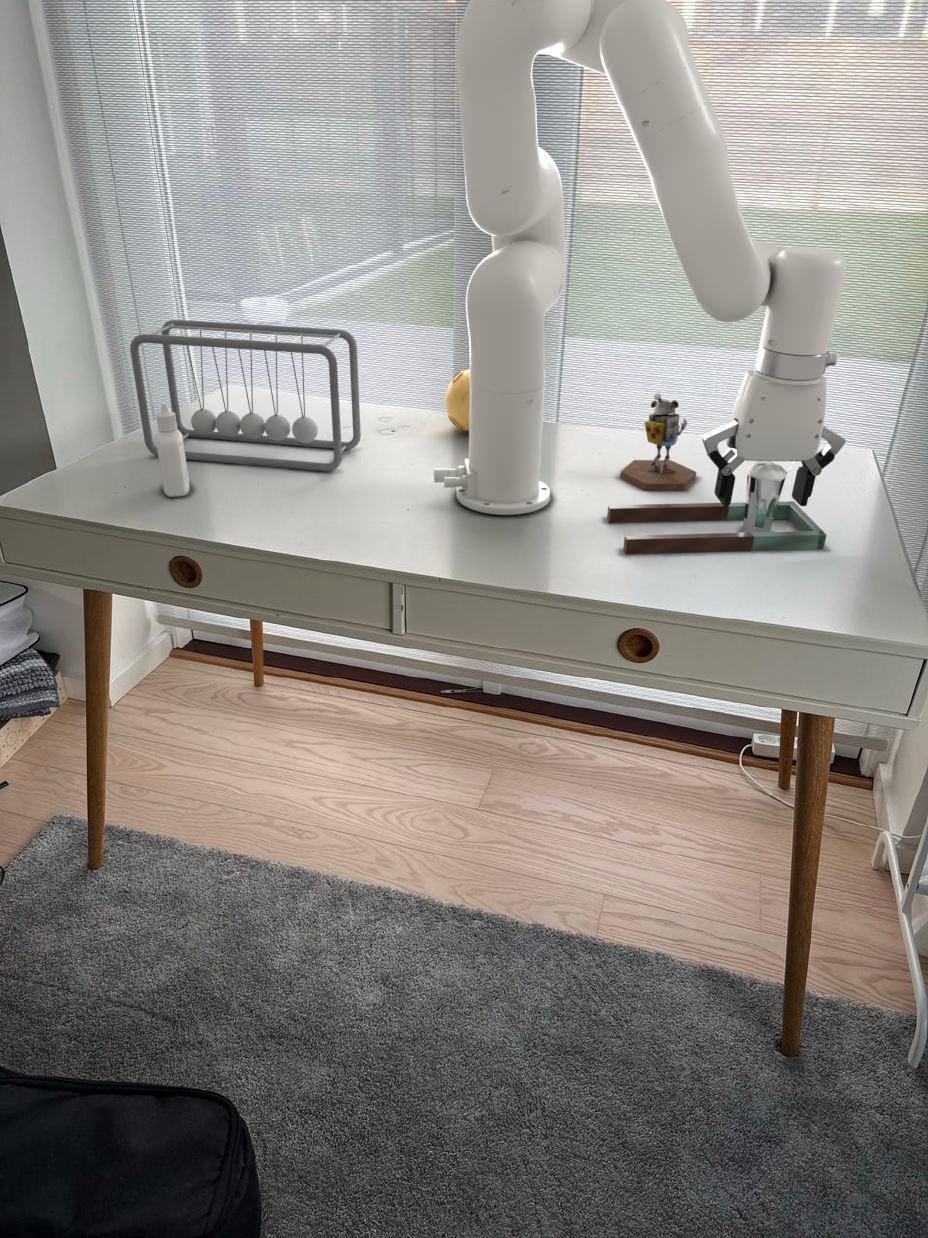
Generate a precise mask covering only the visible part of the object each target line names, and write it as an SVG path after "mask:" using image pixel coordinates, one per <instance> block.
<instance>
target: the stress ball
mask: <svg viewBox="0 0 928 1238" xmlns="http://www.w3.org/2000/svg"><path fill="white" fill-rule="evenodd" d="M445 408H446V411H447V414H448V415H447V418H448V420H449V421H450V422H451V423H452V425H454V426H455V427H456V428H457V429H458V430H460V431H462V430H465V431H467V432H469V414H470V368H468V369H465V370H464V369H462V370H460V371H458V372H457V373H456V374H454V376H453V377H452V378H451V381H450V383H449V385H448V386H447V390H446V393H445Z"/></svg>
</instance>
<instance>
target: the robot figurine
mask: <svg viewBox="0 0 928 1238" xmlns="http://www.w3.org/2000/svg"><path fill="white" fill-rule="evenodd" d="M653 399H654V400H653V401H652V402H651V404H650V408H653V413H652V414H649V415H648V420H647V421H645V422H644V427H645V433H646V439H647V442H648V443H651V444H653V445H656V451H657V454H656V455H655V457H654V458H653V459H633V460H632V461H631V462H630V463H629V464H628V465H626V466H625V467H624V468H623V469H622V470H621V471H620V477H619V478H620V479H622V480H623V481H625V482H627V483H629V484H632V485H633V486H636V487H637V488H640V489H642V490H643V491H677V492H678V491H680V492H681V491H685V490H686V489H687V488H688V487H689V486H690V485H691V484H692V483H693V482H694V481H695V479H696V477H697V471H696V470H693V469H691V468H688V467H687V466H684V465H683V464H680V463H678V462H675V461H674V460H670V458H671V457H670V450H671V448H672V446H675V445H676V443H677V441H678V437H679V436H681V434H682V433H683V431H684V430H685V429H686V428H687V426H688V421H687V419H685V418H683V422H680V415H679V414H678V413H676V409H678V408H679V405H680V404H679V402H678V401H677V400H672V401H670V400H668V399H662V394H661V392H655V393H653ZM679 423H680V424H679ZM680 425H681V426H680ZM663 447H664V448H665V451H666V455H665V456H664V459H661V458H662V455H661V450H662V448H663Z"/></svg>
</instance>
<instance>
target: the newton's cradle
mask: <svg viewBox="0 0 928 1238" xmlns="http://www.w3.org/2000/svg"><path fill="white" fill-rule="evenodd" d="M172 329H177V330H194V332H191V333H190V334H188V335H173V334H170V331H171V330H172ZM202 331H210V332H220V333H218V334H217V335H215V336H213V337H207V336H206V337H205V336H202ZM197 332H199V336H191V335H193V334H195V333H197ZM227 332H228V333H241V334H242V333H243V334H244V333H245V335H243V336H242V337H240V338H238V339H237V338H227ZM221 334H224V338H220V337H218V336H220V335H221ZM252 334H261V335H272V336H270V337H269V338H266V339H265V340H254V339H253V340H252ZM248 335H249V338H250V339H244V337H246V336H248ZM274 336H275V341H271V340H270V339H271V338H273V337H274ZM278 336H293V337H297V338H295V339H294V340H293V341H291V342H283V341H278ZM303 337H306V338H324V339H325V338H326V339H329V340H328V341H326V342H325V343H323V344H315V343H304V342H303ZM298 339H300V340H301V343H299V342H295V341H297V340H298ZM337 339H343V340H345V341H346V343H347V345H348V353H349V372H350V391H351V392H350V394H351V417H352V419H351V420H352V439H351V440H349V441H342V431H341V430H342V429H341V413H340V392H339V375H338V373H339V371H338V360H337V357H336V355H335V353H334V352H333V351H332V350H331V349H330V348H328V346H329V345H330V344H331V343H333V342H335V340H337ZM142 344H157V345H158V344H159V345H162V349H163V356H164V364H165V372H166V378H167V385H168V386H167V387H168V392H169V398H170V399H169V400H170V407H171V411H172V412H174V413H175V414H176V421H177V429H178V430H179V431H180V432H181V434H182V437H183V440H185V439H186V438H197V439H211V440H222V441H235V442H248V443H259V444H271V445H272V444H273V445H282V446H283V445H285V446H296V447H298V446H299V447H309V448H310V447H311V448H323V449H332V450H333V457H332V459H330V460H329V462H327V463H326V462H315V461H303V460H291V459H282V458H281V459H278V458H268V457H257V456H256V457H255V456H245V455H232V454H220V453H209V452H208V453H206V452H196V451H185V457H186V460H188V461H189V460H190V461H199V462H200V461H201V462H213V463H224V464H236V465H247V466H248V465H249V466H260V467H272V468H283V469H296V470H308V471H318V472H319V471H320V472H332V471H334V470H336V469H338V468H339V467H340V465H341V463H342V460H343V459H342V458H343V452H344V451H345V450H352V449H354V448H356V447H357V446H358V445H359V443H360V441H361V437H362V431H361V410H360V409H361V407H360V406H361V405H360V385H359V383H360V382H359V363H358V362H359V361H358V359H359V358H358V344H357V341H356V339H355V337H354V336H353V335H352V334H351V333H350V332H349V331H347V330H344V329H338V328H337V329H335V328H319V327H317V328H316V327H300V326H285V325H284V326H283V325H269V324H251V323H237V322H236V323H233V322H217V321H202V320H201V321H200V320H186V319H185V320H184V319H170V320H168V321H166V322H164V324H163V326H162V327H161V328H159V329H158V330H155V331H153V332H151V333H150V334H143V333H142V334H138V335H136V336H134V337H133V339H132V340H131V342H130V345H129V352H130V359H131V364H132V371H133V377H134V382H135V389H136V396H137V402H138V409H139V413H140V420H141V426H142V427H141V428H142V434H143V440H144V443H145V447H146V448H147V450H148V451H149V452H150V453H151V454H152V455H154V456H156V457H158V451H157V445H156V444H155V443H154V441H153V433H152V428H151V421H150V414H149V409H148V402H147V401H148V400H147V396H146V389H145V383H144V375H143V370H142V369H143V368H142V363H141V357H140V351H139V350H140V346H141V345H142ZM171 345H174V346H186V350H187V353H188V358H189V362H190V367H191V371H192V376H193V380H194V385H195V390H196V394H197V399H198V403H199V407H200V409H198V410H196V411H194V413H193V414H192V416H191V419H190V424H191V427H192V429H189V428H187V427H185V426H184V424H183V422H182V418H181V412H180V402H179V396H178V389H177V381H176V375H175V368H174V359H173V352H172V346H171ZM189 347H200V364H201V365H200V368H201V369H200V371H201V391H202V392H201V393H202V404H201V399H200V394H199V390H198V384H197V381H196V377H195V372H194V367H193V363H192V358H191V354H190V350H189ZM203 347H204V348H211V349H212V354H213V358H214V363H215V368H216V372H217V377H218V382H219V383H218V384H219V387H220V393H221V399H222V402H223V403H222V404H223V408H224V411H222V412H220V413H219V414H218V415H217V416H216V415H215V413H214V412H213V411H211V410H209V409H206V408H205V397H204V394H205V393H204V374H203V373H204V372H203V371H204V370H203V350H202V349H203ZM214 348H219V349H225V351H224V352H225V379H226V403H225V397H224V393H223V392H224V391H223V388H222V382H221V378H220V373H219V367H218V363H217V359H216V353H215V349H214ZM228 349H235V350H236V349H237V351H238V357H239V361H240V367H241V372H242V378H243V383H244V389H245V393H246V399H247V405H248V410H249V413H246V414H244V415H243V416H242V418H241V417H240V416H239V415H238V414H237V413H235V412H234V411H231V410H229V386H228V385H229V384H228V353H227V350H228ZM240 350H250V351H249V352H250V388H251V405H250V399H249V394H248V389H247V388H248V387H247V384H246V378H245V373H244V367H243V362H242V357H241V351H240ZM252 351H263V352H264V360H265V364H266V370H267V377H268V382H269V387H270V395H271V401H272V406H273V412H274V414H273V415H271V416H269V417H268V418H266V420H265V419H264V418H263V416H261V415H260V414H259V413H257V412H254V397H253V396H254V395H253V393H254V392H253V358H252V357H253V352H252ZM266 351H268V352H275V387H276V388H275V389H276V391H275V393H276V405H275V400H274V396H273V389H272V382H271V376H270V370H269V364H268V359H267V353H266ZM278 352H281V353H282V352H283V353H284V352H285V353H290V356H291V361H292V367H293V374H294V379H295V384H296V389H297V396H298V400H299V401H298V402H299V407H300V411H301V417H298V418H296V420H295V421H294V422H293V423H292V427H291V424H290V421H289V419H287V417H285V416H284V415H281V414H279V408H278V407H279V403H278V402H279V398H278V391H279V390H278ZM293 353H298V354H301V362H302V363H301V366H302V367H301V369H302V395H303V396H302V399H303V406H302V401H301V395H300V391H299V384H298V379H297V374H296V368H295V362H294V361H295V360H294V357H293ZM304 354H313V355H314V354H315V355H322V356H323V357H325V358H326V360H327V362H328V374H329V390H330V392H329V395H330V409H331V425H332V426H331V429H332V440H327V439H326V440H325V439H317V436H318V434H319V426H318V424H317V423H316V421H315V420H314V419H313V418H311V417H308V416H306V403H305V401H306V399H305V397H306V396H305V372H304V371H305V370H304ZM275 406H276V407H275ZM239 432H241V433H239ZM290 433H292V436H293V437H289V435H290ZM264 434H266V435H264Z"/></svg>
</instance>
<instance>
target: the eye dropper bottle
mask: <svg viewBox="0 0 928 1238" xmlns="http://www.w3.org/2000/svg"><path fill="white" fill-rule="evenodd" d="M155 418H156V424H157V429H158V430H157V432H156V435H155V443H156V444H155V445H156V447H157V451H158V456H157V457H158V463H159V471H160V476H161V482H162V488H163V492H164V494H165V495H166V496H167V497H170V498H177V497H184V496H187V494H188V493H189V492H190V489H191V486H190V479H189V472H188V465H187V459H186V457H185V452H186V450H185V443H184V439H183V434H181V432H180V431H179V430H178V429H177V421H176V414H175V413H174V412H172V410H170V408H169V405H168V403H167V402H162V403H161V404H160V411H159V412H157V413H156V414H155Z"/></svg>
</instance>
